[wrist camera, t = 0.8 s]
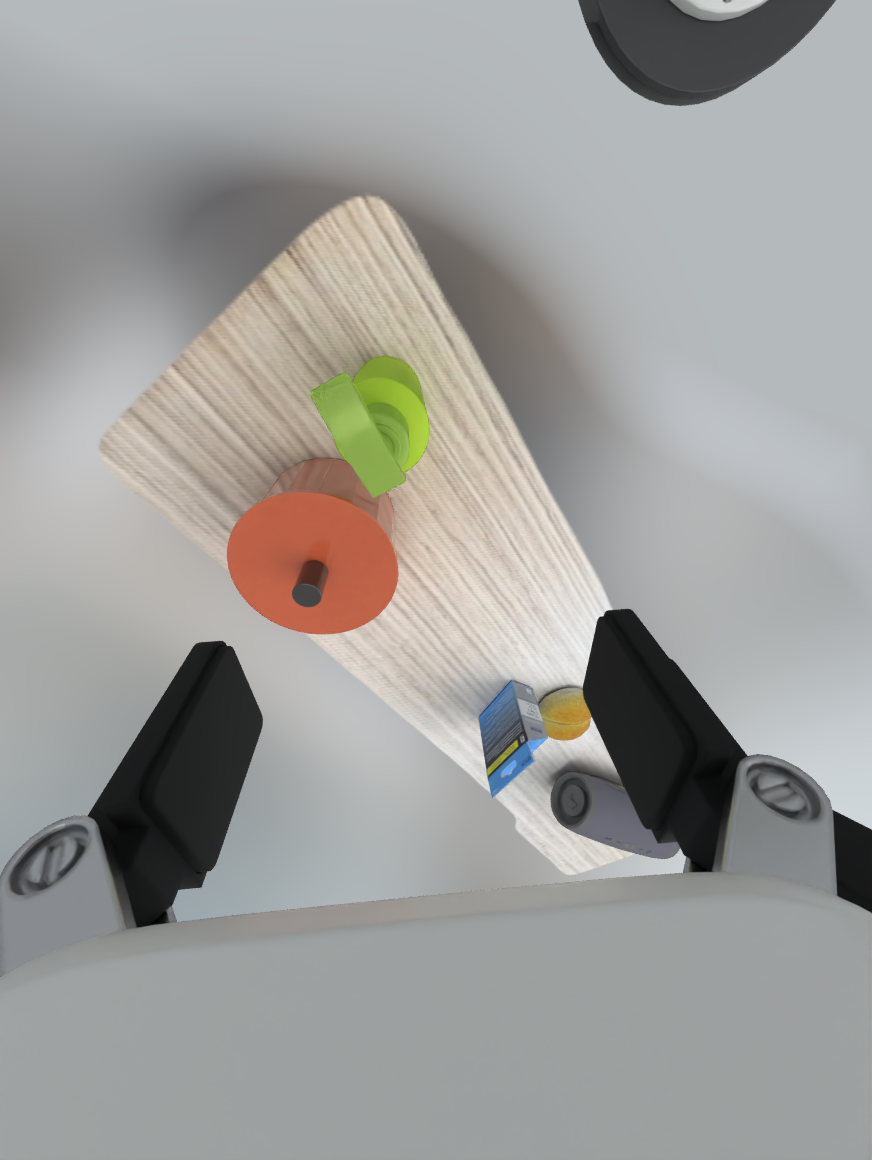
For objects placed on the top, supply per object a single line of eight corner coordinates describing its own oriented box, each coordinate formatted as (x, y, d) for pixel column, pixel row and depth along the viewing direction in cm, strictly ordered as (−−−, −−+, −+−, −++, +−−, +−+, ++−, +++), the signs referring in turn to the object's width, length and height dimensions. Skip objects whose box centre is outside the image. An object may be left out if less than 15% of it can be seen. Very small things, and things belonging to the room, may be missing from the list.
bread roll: (598, 684, 59) (610, 707, 55) (580, 725, 63) (590, 748, 60) (542, 683, 58) (551, 706, 54) (528, 725, 62) (535, 748, 59)
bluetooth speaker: (540, 781, 71) (558, 844, 63) (578, 753, 67) (603, 815, 59) (625, 813, 80) (651, 872, 71) (664, 789, 76) (696, 849, 67)
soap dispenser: (394, 328, 33) (386, 347, 17) (432, 409, 37) (457, 491, 20) (333, 365, 34) (267, 417, 18) (376, 440, 38) (355, 542, 21)
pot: (253, 461, 38) (213, 500, 30) (388, 454, 39) (384, 491, 31) (284, 575, 45) (259, 631, 37) (399, 568, 46) (398, 622, 38)
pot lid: (207, 491, 31) (179, 517, 27) (391, 482, 31) (389, 506, 27) (257, 631, 38) (240, 667, 34) (404, 621, 39) (404, 656, 35)
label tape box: (498, 723, 62) (517, 806, 52) (475, 716, 61) (490, 799, 50) (533, 687, 58) (561, 768, 48) (509, 678, 57) (533, 759, 46)
